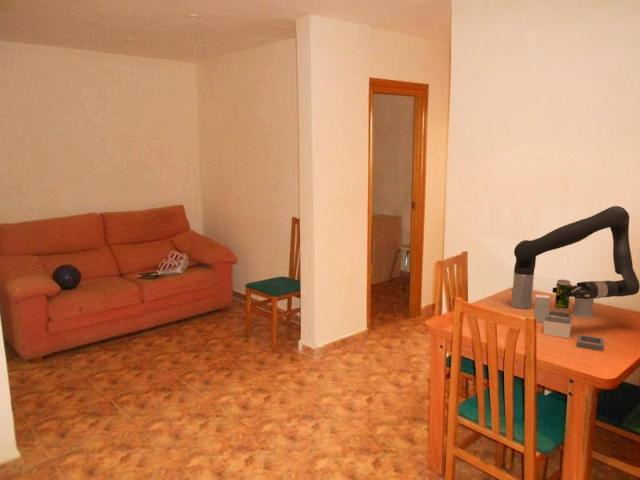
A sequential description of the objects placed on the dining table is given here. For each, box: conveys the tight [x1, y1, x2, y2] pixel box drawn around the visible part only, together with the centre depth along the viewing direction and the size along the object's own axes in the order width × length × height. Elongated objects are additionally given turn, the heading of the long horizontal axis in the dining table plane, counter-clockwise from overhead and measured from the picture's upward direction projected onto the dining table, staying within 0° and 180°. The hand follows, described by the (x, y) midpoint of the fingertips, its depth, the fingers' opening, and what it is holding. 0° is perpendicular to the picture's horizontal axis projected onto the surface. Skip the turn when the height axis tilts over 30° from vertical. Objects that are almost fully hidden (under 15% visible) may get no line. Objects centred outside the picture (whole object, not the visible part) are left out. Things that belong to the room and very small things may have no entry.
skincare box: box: [533, 294, 551, 324], centre depth 239 cm, size 6×4×12 cm
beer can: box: [554, 279, 572, 311], centre depth 221 cm, size 5×5×12 cm
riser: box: [543, 309, 573, 339], centre depth 225 cm, size 10×10×8 cm
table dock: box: [576, 334, 605, 352], centre depth 212 cm, size 9×9×2 cm
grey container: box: [569, 281, 595, 319], centre depth 249 cm, size 9×14×15 cm, turn 41°
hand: (557, 292), depth 221 cm, fingers closed on beer can, 5 cm apart
